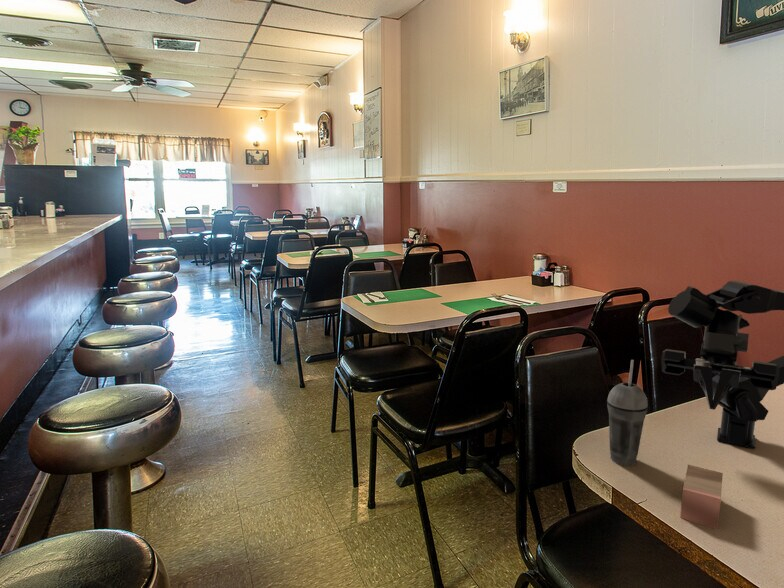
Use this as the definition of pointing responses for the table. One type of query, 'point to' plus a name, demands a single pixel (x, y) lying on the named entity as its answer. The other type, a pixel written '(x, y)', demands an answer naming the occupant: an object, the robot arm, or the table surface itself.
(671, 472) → the table surface
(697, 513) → the wooden block
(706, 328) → the robot arm
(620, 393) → the beverage cup
